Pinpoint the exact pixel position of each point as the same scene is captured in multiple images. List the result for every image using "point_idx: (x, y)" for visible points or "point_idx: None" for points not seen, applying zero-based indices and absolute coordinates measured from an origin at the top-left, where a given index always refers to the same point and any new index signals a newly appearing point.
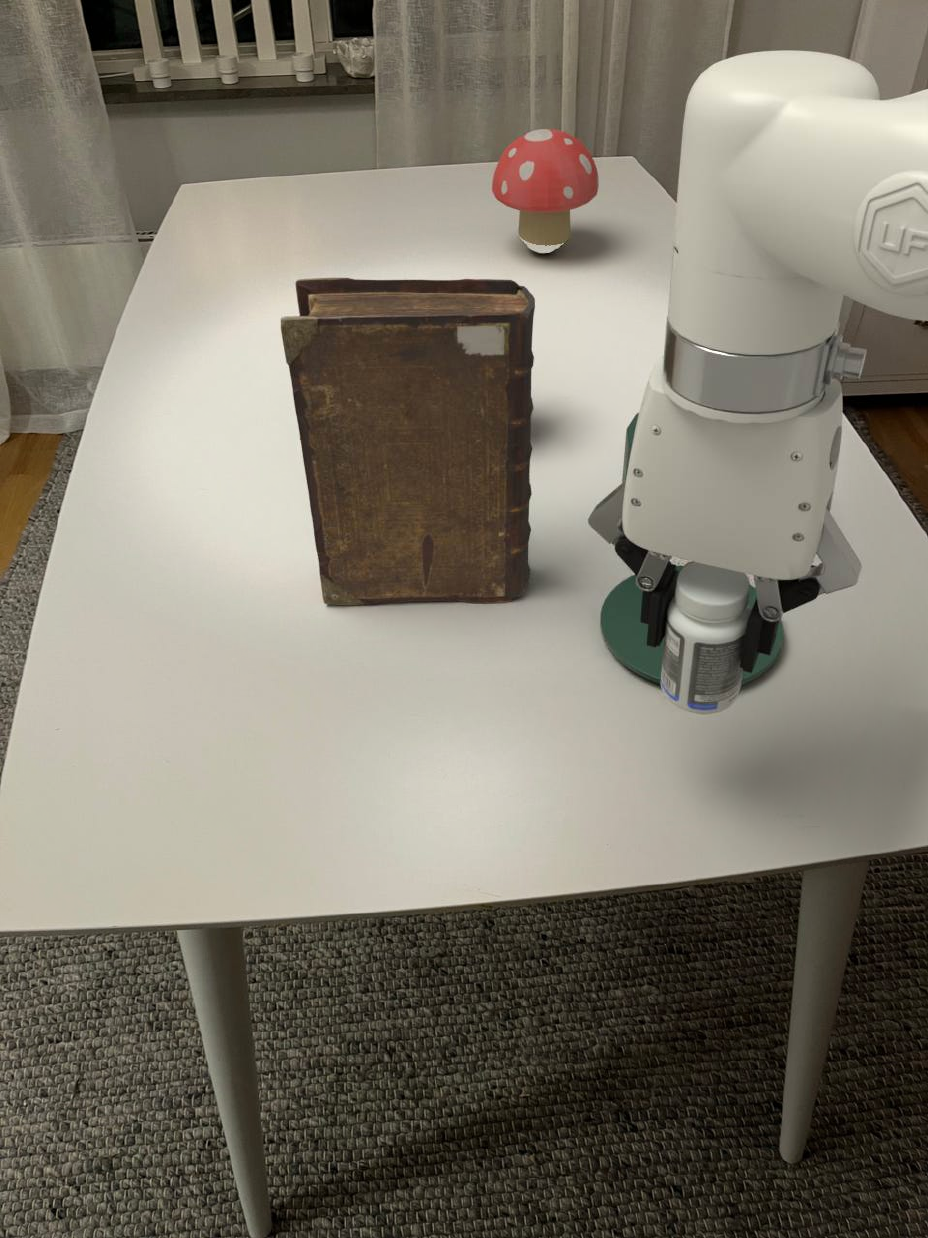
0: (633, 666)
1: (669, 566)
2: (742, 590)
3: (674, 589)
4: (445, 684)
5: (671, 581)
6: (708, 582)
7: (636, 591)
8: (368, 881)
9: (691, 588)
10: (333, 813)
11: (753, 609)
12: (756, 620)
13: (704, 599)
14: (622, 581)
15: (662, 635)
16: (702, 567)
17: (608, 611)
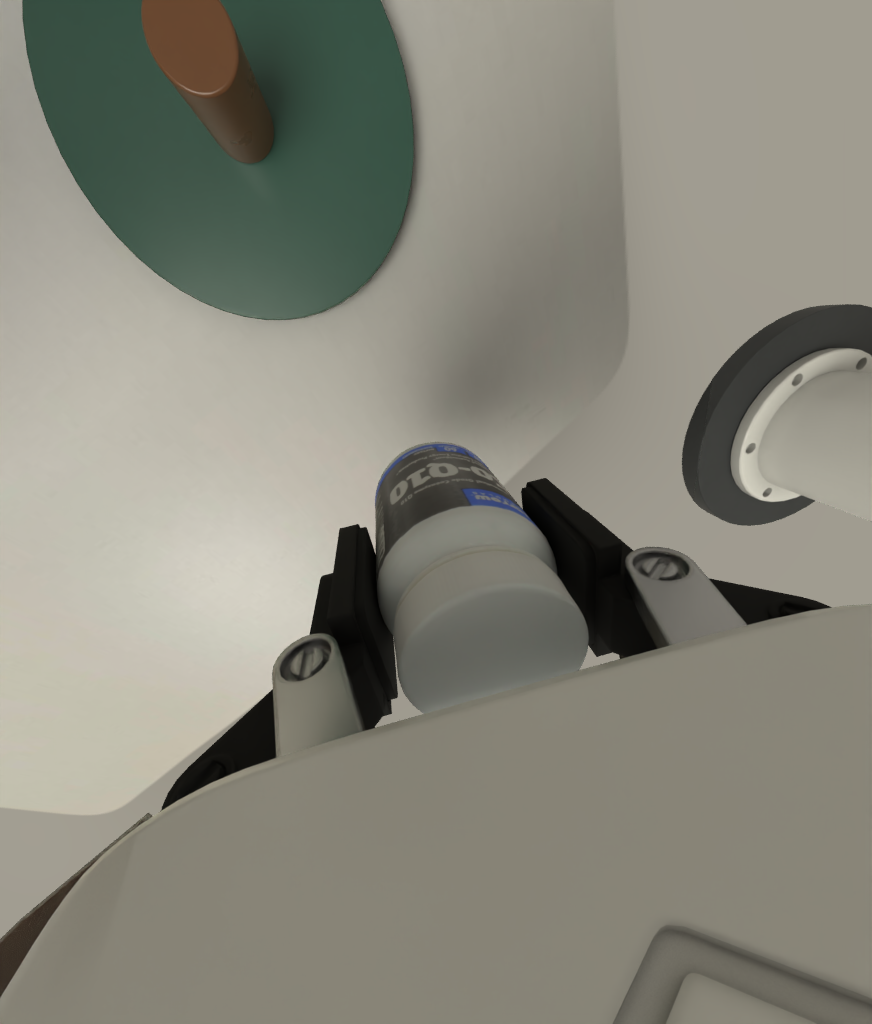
0: (247, 316)
1: (360, 679)
2: (576, 652)
3: (369, 591)
4: (76, 487)
5: (378, 655)
6: (487, 674)
7: (84, 80)
8: (260, 675)
9: None
10: (175, 660)
11: (589, 622)
12: (607, 652)
13: None
14: (28, 56)
15: None
16: (446, 643)
17: (101, 195)
